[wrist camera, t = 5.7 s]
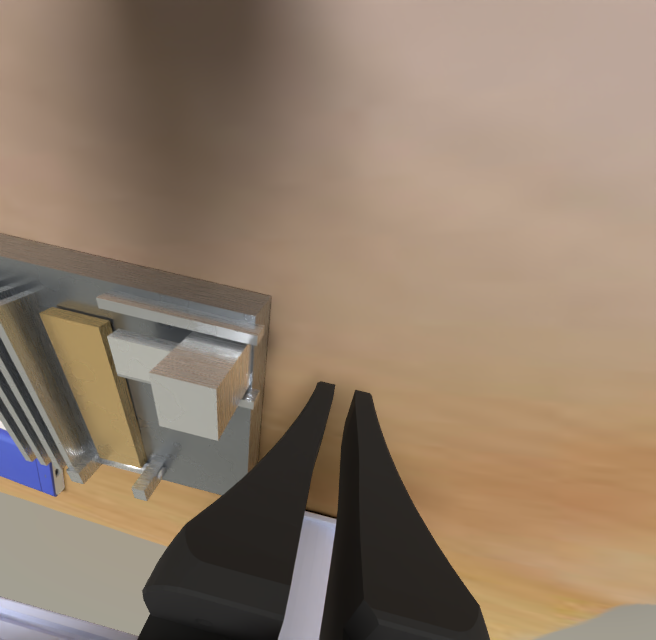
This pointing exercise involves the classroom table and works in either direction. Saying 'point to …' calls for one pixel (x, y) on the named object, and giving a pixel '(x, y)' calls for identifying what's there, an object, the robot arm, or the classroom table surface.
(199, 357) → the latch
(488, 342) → the classroom table surface
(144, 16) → the classroom table surface
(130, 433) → the tan rectangular plate
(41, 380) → the grey slotted fixture base
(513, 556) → the classroom table surface
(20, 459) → the hard drive
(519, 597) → the classroom table surface
